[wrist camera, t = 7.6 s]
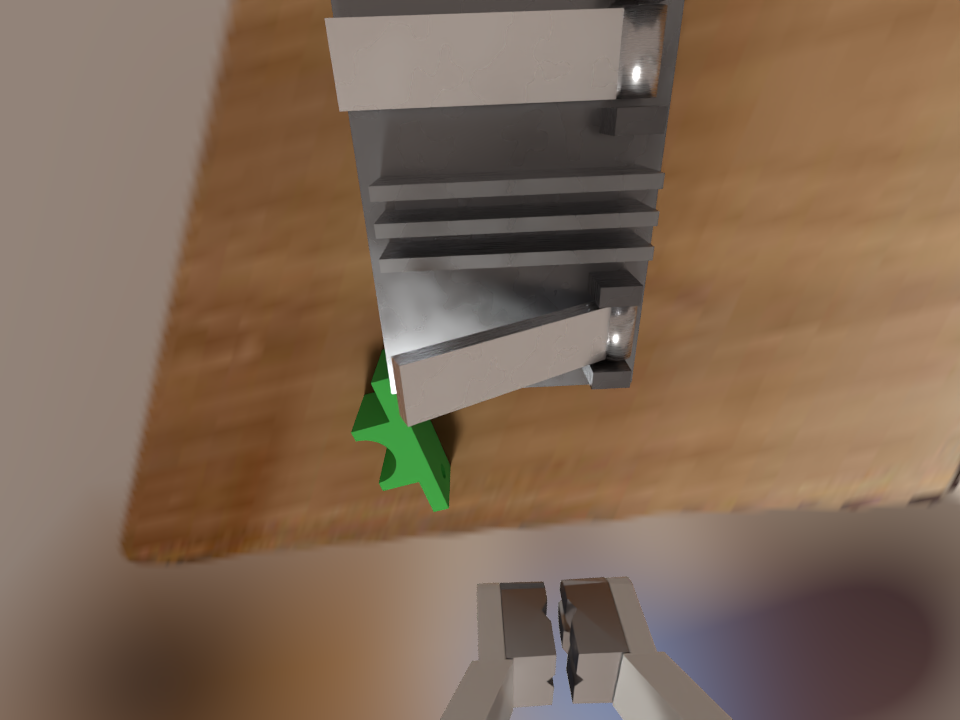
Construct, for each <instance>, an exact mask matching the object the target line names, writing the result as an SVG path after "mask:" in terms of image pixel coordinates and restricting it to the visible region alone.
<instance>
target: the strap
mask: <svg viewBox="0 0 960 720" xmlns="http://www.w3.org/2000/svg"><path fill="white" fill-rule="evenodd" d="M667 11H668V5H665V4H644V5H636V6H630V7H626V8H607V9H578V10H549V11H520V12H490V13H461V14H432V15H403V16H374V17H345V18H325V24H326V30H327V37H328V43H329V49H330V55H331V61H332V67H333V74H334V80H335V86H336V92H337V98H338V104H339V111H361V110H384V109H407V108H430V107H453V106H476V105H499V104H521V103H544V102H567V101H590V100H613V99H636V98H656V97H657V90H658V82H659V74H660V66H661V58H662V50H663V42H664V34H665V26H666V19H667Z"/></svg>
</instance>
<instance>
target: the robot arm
mask: <svg viewBox="0 0 960 720" xmlns="http://www.w3.org/2000/svg"><path fill="white" fill-rule="evenodd" d="M560 594H561V601H560V602H559V603H558V622H559V631H560V638H561V643H562V648H563V649H564V650H565V651H566V653H567V654H568V657H567V667H566V671H567V676H568V681H569V686H570V691H571V697H572V702H573V704H574V703H613V706H614V708H615V709H616V710H617V712H618V713H619V714H620V716H621V717H622V718H623V720H733V719H732V718H731V717H730V716H729V715H727V714H726V713H725V712H724V711H723V710H722V709H721V708H720V707H719V706H718V705H717V704H716V703H715V702H714V701H713V700H712V699H711V698H710V697H709V696H708V695H707V694H706V693H705V692H704V691H703V690H702V689H701V688H700V687H699V686H698V685H697V684H696V683H695V682H694V681H693V680H692V679H691V678H690V677H689V676H688V675H687V674H686V673H685V672H684V671H683V670H682V669H681V668H680V667H679V666H678V665H677V664H676V663H675V662H674V661H673V660H672V659H671V658H670V657H669V656H668V655H667V654H666V653H665V652H657V650H656V648H655V645H654V642H653V639H652V637H651V634H650V631H649V628H648V625H647V623H646V620H645V617H644V614H643V612H642V609H641V607H640V604H639V601H638V598H637V595H636V592H635V590H634V587H633V584H632V582H631V580H630V579H629V578H628V577H612V578H604V577H600V578H585V579H569V580H561V582H560ZM546 611H547V596H546V590H545V586H544V583H543V582H514V583H500V585H499V583H483V584H477V620H478V653H479V654H478V655H479V661H472V662H471V664H470V666H469V667H468V669H467V671H466V673H465V675H464V677H463V679H462V681H461V682H460V684H459V686H458V688H457V689H456V692H455V693H454V695H453V697H452V699H451V700H450V703H449V704H448V706H447V708H446V710H445V711H444V713H443V715H442V717H441V719H440V720H510V717H511V715H512V712H513V708H516V707H528V706H540V705H552V700H553V691H554V686H553V679H552V677H553V676H554V675H555V668H556V650H555V643H554V638H553V631H552V625H551V621H550V620H549V619H548V617H547V616H546Z"/></svg>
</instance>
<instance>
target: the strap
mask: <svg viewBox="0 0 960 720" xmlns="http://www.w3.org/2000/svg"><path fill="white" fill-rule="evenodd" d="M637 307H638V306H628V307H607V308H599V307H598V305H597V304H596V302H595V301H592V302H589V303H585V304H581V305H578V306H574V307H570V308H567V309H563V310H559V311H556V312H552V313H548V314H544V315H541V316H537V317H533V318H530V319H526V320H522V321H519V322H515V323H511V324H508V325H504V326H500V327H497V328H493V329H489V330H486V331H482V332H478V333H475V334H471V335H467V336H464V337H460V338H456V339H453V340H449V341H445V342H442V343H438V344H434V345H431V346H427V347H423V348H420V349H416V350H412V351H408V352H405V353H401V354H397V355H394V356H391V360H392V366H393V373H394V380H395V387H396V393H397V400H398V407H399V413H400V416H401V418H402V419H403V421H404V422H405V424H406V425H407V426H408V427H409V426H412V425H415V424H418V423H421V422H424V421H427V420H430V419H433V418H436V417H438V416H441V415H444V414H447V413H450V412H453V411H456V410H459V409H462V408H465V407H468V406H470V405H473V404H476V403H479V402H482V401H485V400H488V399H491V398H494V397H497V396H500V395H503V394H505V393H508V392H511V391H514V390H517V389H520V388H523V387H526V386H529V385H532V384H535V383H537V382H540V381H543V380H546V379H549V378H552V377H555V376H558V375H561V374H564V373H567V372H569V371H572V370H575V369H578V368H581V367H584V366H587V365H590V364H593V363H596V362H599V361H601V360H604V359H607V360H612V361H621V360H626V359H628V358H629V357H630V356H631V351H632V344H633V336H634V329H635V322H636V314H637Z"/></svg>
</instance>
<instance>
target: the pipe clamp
mask: <svg viewBox="0 0 960 720" xmlns="http://www.w3.org/2000/svg"><path fill="white" fill-rule="evenodd" d="M371 385H372V387H373V389H374V391H375V392H373V393H369V394H366V395H364V397H363V400H362V403H361V406H360V409H359V412H358V414H357V417H356V420H355V423H354V426H353V429H352V432H351V433H352V435H353V437H354V439H355V440H356V441H361V440H369V441H375V442H378V443H380V444H382V445H384V446H386V447H387V450H386V454H385V458H384V463H383V467H382V471H381V476H380V480H379V484H380V486H381V488H382V490H383V491H384V490H388V489H392V488H396V487H400V486H404V485H408V484H412V483H416V482H419V483H420V485H421V487H422V489H423V491H424V493H425V495H426V497H427V499H428V501H429V503H430V505H431V507H432V509H433V511H434V512H436V511H440V510H444V509H448V508H449V492H450V464H449V462H448V459H447V457H446V455H445V452H444V450H443V448H442V446H441V443H440V441H439V439H438V436H437V434H436V432H435V430H434V427H433V425H432V423H431V420H427V421H424V422H421V423H418V424H415V425H412V426H409V427H408V426H407V425H406V424H405V422H404V421H403V419H402V418H401V416H400V413H399V407H398V400H397V394H392V392H391V386H390V379H389V373H388V366H387V360H386V353H385V349H383V350H382V352H381V355H380V358H379V361H378V364H377V367H376V370H375V373H374V375H373V378H372V381H371Z"/></svg>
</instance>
